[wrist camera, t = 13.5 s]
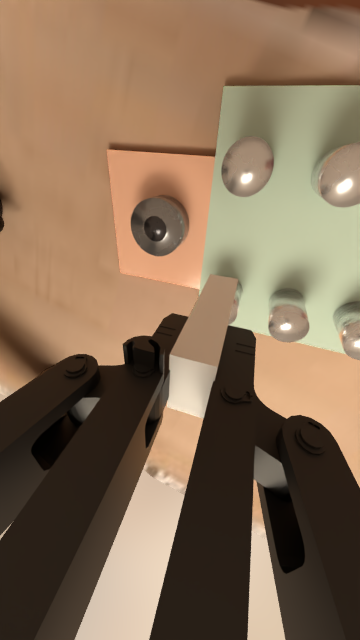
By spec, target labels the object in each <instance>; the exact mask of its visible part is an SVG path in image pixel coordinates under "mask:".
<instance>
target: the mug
mask: <svg viewBox="0 0 360 640" xmlns="http://www.w3.org/2000/svg"><path fill="white" fill-rule="evenodd" d="M1 216H2V204H1V200H0V232H1V231H2V230H3V227H4V221H3V218H2V217H1Z"/></svg>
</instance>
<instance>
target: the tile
mask: <svg viewBox="0 0 360 640" xmlns="http://www.w3.org/2000/svg"><path fill="white" fill-rule="evenodd" d="M107 158H108V167H109V176H110V185H111V195H112V204H113V213H114V222H115V231H116V240H117V249H118V258H119V267H120V273H123V274H128V275H133V276H138V277H143V278H147V279H152V280H157V281H162V282H167V283H172V284H176V285H181V286H186V287H191V288H196V289H200V281H201V273H202V264H203V256H204V247H205V239H206V230H207V222H208V213H209V205H210V197H211V188H212V180H213V171H214V163H215V157H213V156H198V155H183V154H168V153H153V152H138V151H123V150H107ZM159 195H168V196H171V197H173V198H175V199H177V200H178V201H179V202H180V203H181V204H182V205H183V206H184V208H185V210H186V212H187V214H188V218H189V232H188V235H187V237H186V239H185V241H184V242H183V243H182V244H181V245H180V246H179V247H177V248H176V249H175V250H174V251H173V252H171V253H170V254H168V255H165V256H154V255H151V254H148V253H147V252H145V251H144V250H143V249H141V248H140V246H139V245H138V244H137V243H136V241H135V239H134V237H133V234H132V231H131V216H132V213H133V210H134V208H135V207H136V206H137V204H139V203H140V202H141V201H143V200H145V199H148V198H152V197H155V196H159Z"/></svg>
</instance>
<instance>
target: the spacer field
mask: <svg viewBox="0 0 360 640" xmlns="http://www.w3.org/2000/svg"><path fill="white" fill-rule="evenodd" d="M248 136H255V137H259V138H261V139H263V140H264V141H266V142H267V143H268V145H269V146H270V148H271V150H272V153H273V157H274V167H273V172H272V175H271V177H270V179H269V181H268V183H267V184H266V185H265V187H264V188H263V189H262V190H261V191H259V192H258V193H256V194H254V195H252V196H249V197H238V196H235V195H233V194H232V193H230V192H229V191H228V190H227V188H226V187H225V185H224V183H223V180H222V175H221V168H222V162H223V159H224V157H225V154H226V153H227V151H228V149H229V148H230V147H231V146H232V145H233V144H234V143H235V142H236V141H238V140H240V139H241V138H244V137H248ZM357 142H360V85H306V86H223V95H222V103H221V112H220V120H219V129H218V137H217V146H216V154H215V163H214V171H213V180H212V188H211V197H210V205H209V213H208V222H207V230H206V239H205V247H204V256H203V264H202V273H201V281H200V290H199V296H200V294H201V292H202V290H203V288H204V286H205V284H206V282H207V280H208V278H209V276H210V274H213V275H219V276H224V277H232V278H235V279H238V282H239V283H240V284H241V286H242V297H241V301H240V305H239V309H238V313H237V317H236V319H235V321H234V322H233V323H232V324H230V326H235V327H239V328H244V329H248V330H251V331H252V332H255V333H260V334H264V335H268V336H272V335H271V334H270V332H269V329H268V320H269V300H270V298H271V296H272V295H273V294H274V293H275V292H276V291H278V290H281V289H285V288H290V289H295V290H297V291H298V292H300V293H301V294H302V296H303V298H304V302H305V307H306V311H307V316H308V321H309V326H310V328H309V332H308V333H307V335H306V336H305V337H304V338H302V339H301V340H298V341H295V342H297V343H301V344H306V345H310V346H314V347H318V348H322V349H327V350H331V351H335V352H339V353H343V354H346V353H345V351H344V349H343V346H342V344H341V341H340V338H339V335H338V333H337V330H336V327H335V325H334V322H333V314H334V312H335V310H336V309H337V308H338V307H340V306H341V305H343V304H345V303H348V302H354V301H359V302H360V204H357V205H355V206H351V207H344V208H342V207H335V206H332V205H330V204H329V203H327V202H326V201H325V200H324V199H322V198H321V197H320V196H319V195H317V194H316V193H315V192H314V190H313V188H312V185H311V175H312V171H313V169H314V167H315V165H316V163H317V162H318V160H319V159H320V158H321V157H322V156H323V155H324V154H325V153H327V152H328V151H330V150H331V149H333V148H336V147H339V146H343V145H347V144H352V143H357ZM272 337H273V336H272Z"/></svg>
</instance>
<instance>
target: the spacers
mask: <svg viewBox="0 0 360 640" xmlns="http://www.w3.org/2000/svg"><path fill="white" fill-rule="evenodd" d="M273 167H274V157H273V153H272V150H271V148H270V146H269V145H268V143H267V142H266V141H264V140H263V139H261V138H259V137H255V136H248V137H244V138H241V139H240V140H238V141H236V142H235V143H234V144H233V145H232V146H231V147H230V148H229V149H228V151H227V153H226V154H225V157H224V159H223V162H222V168H221V175H222V180H223V183H224V185H225V187H226V188H227V190H228V191H229V192H230V193H232V194H233V195H235V196H238V197H249V196H252V195H254V194H256V193H258V192H259V191H261V190H262V189H263V188H264V187H265V185H266V184H267V183H268V181H269V179H270V177H271V175H272V172H273ZM311 185H312V188H313V190H314V192H315V193H316V194H317V195H319V196H320V197H321V198H322V199H324V200H325V201H326V202H327V203H329V204H330V205H332V206H335V207H342V208H344V207H351V206H355V205H357V204H360V142H357V143H352V144H347V145H343V146H339V147H336V148H333V149H331V150H330V151H328V152H327V153H325V154H324V155H323V156H322V157H321V158H320V159H319V160H318V162H317V163H316V165H315V167H314V169H313V171H312V175H311ZM230 278H232V277H230ZM241 297H242V286H241V284H240V283H239V282H238V284H237V288H236V292H235V297H234V301H233V306H232V310H231V314H230V319H229V323H228V325H230V324H232V323H233V322H234V321H235V319H236V317H237V313H238V309H239V305H240V301H241ZM333 322H334V325H335V327H336V330H337V333H338V335H339V338H340V341H341V344H342V346H343V349H344V351H345V353H346V354H347V355H348V356H350V357H351V358H354V359H357V360H360V302H359V301H354V302H348V303H345V304H343V305H341V306H340V307H338V308H337V309H336V310H335V312H334V314H333ZM309 328H310V326H309V321H308V316H307V311H306V307H305V302H304V298H303V296H302V294H301V293H300V292H298V291H297V290H295V289H290V288H285V289H281V290H278V291H276V292H275V293H274V294H273V295H272V296H271V298H270V300H269V320H268V329H269V332H270V334H271V335H272V336H273V337H274V338H275V339H277V340H279V341H282V342H295V341H298V340H301V339H302V338H304V337H305V336H306V335H307V333H308V332H309Z"/></svg>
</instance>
